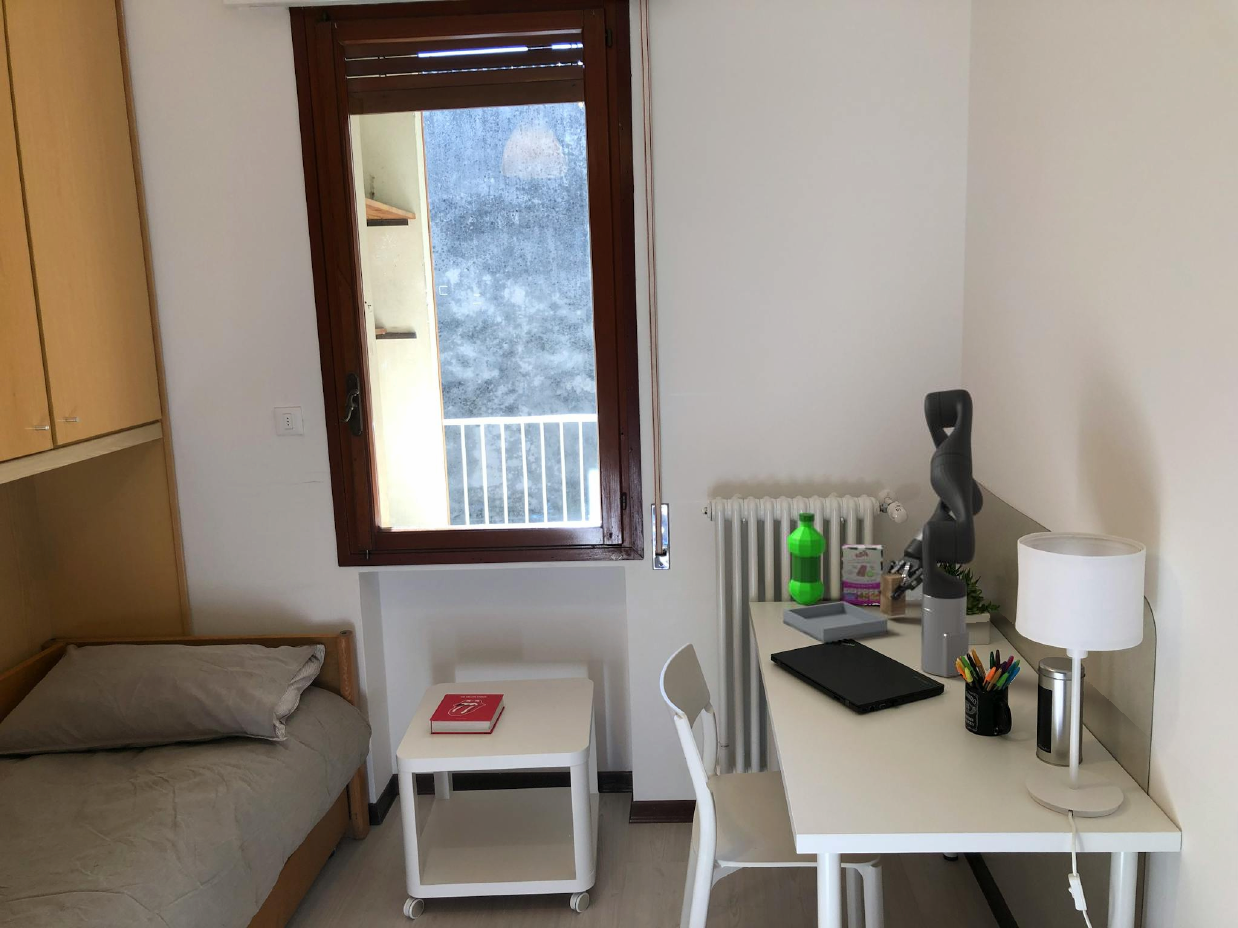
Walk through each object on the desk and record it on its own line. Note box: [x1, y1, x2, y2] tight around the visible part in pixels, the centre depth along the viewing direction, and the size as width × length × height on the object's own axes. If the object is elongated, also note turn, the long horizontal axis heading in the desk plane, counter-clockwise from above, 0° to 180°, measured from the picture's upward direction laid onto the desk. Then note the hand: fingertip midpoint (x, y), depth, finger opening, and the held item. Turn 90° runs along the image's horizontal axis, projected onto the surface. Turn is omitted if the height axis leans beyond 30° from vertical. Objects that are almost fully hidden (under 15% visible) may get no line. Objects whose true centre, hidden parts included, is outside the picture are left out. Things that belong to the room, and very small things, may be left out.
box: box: [782, 601, 888, 644], centre depth 239 cm, size 19×19×4 cm
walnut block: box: [879, 572, 907, 617], centre depth 245 cm, size 4×4×10 cm
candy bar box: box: [841, 543, 884, 606], centre depth 261 cm, size 11×5×16 cm, turn 73°
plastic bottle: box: [787, 512, 827, 605], centre depth 263 cm, size 10×10×25 cm
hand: (887, 596), depth 244 cm, fingers closed on walnut block, 4 cm apart
